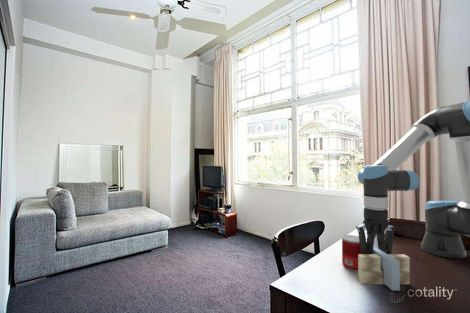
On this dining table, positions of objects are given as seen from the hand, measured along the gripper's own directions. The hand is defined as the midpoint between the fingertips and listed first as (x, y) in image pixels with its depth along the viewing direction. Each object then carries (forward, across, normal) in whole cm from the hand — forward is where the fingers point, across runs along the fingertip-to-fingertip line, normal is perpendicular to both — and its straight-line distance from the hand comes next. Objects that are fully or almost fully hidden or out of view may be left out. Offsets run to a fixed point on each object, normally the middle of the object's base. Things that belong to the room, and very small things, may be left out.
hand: (375, 272), depth 82 cm
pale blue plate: (0, 0, +4) cm, 4 cm away
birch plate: (+1, 0, +4) cm, 4 cm away
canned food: (+1, +4, -7) cm, 9 cm away
